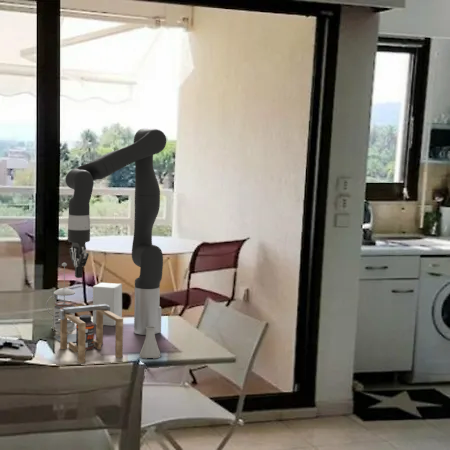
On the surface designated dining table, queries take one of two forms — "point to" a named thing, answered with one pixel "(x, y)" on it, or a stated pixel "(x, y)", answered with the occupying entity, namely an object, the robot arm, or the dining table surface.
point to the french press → (62, 304)
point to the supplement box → (108, 300)
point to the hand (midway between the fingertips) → (78, 277)
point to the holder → (99, 333)
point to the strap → (83, 309)
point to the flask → (150, 345)
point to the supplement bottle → (87, 332)
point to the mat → (69, 338)
